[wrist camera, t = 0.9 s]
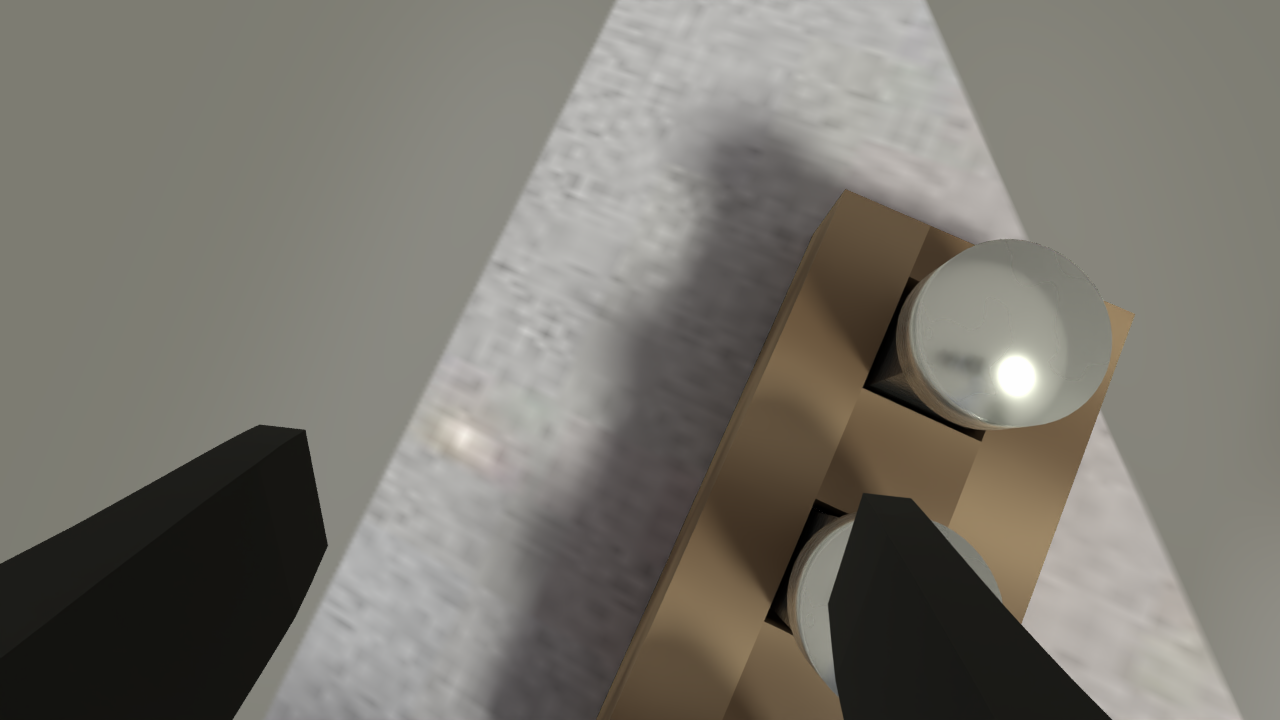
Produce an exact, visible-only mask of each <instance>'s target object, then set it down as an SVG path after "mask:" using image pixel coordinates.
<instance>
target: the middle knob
mask: <svg viewBox="0 0 1280 720" xmlns="http://www.w3.org/2000/svg"><path fill="white" fill-rule="evenodd" d="M856 513H857V512H854V513H851V514H848V515H844V516H842V517H836V516H831V515H827V514H823V513H819V512H815V511H810V513H809V515H808V518H807V520H806V523H805V525H804V527H803V530H802V532H801V534H800V537H799V539H798V542H797V544H796V546H795V549H794V551H793V553H792V556H791V558H790V561H789V563H788V565H787V568H786V570H785V572H784V575H783V577H782V579H781V582H780V584H779V587H778V589H777V591H776V594H775V596H774V598H773V601H772V603H771V606H770V607H771V608H772V609H773V610H774V612H775V613H776V614H777V615H778V616H779V617H780V618H781V619H782V620H783V621H784V622H785V623H786V624H787V626H788V627H789V628H790V629H791V630H792V633H793V636H794V638H795V641H796V643H797V645H798V647H799V649H800V651H801V653H802V654H803V656H804V657H805V659H806V660H807V662H808V663H809V664H810V665H811V667H812V668H813V669H814V670H815V672H816V673H817V674H818V675H819V676H820V677H821V679H822V680H823V681H824V682H825V683H826V684H827V686H828V687H829V688H830V689H831V690H832V691H833V692H834V693H835V694H836V695H837V696H838V691H837V686H836V681H835V672H834V663H833V654H832V645H831V634H830V623H829V612H828V602H829V598H830V595H831V592H832V589H833V586H834V583H835V580H836V576H837V573H838V570H839V567H840V564H841V561H842V558H843V554H844V551H845V548H846V545H847V542H848V539H849V535H850V532H851V529H852V526H853V523H854V520H855V517H856ZM931 521H932V520H931ZM932 522H933V523H934V525H935V526H936V527H937V528H938V529H939V530H940V532H941V533H942V534H943V535H944V536H945V537H946V539H947V540H948V541H949V542H950V543H951V544H952V546H953V547H954V548H955V549H956V550H957V552H958V553H959V554H960V555H961V556H962V557H963V559H964V560H965V561H966V562H967V563H968V564H969V566H970V567H971V568H972V569H973V570H974V571H975V572H976V574H977V575H978V576H979V577H980V578H981V579H982V581H983V582H984V583H985V584H986V585H987V586H988V588H989V589H990V590H991V591H992V592H993V593H994V594H995V596H996V597H997V598H998V599H999V600H1000V601H1001V602H1002V597H1001V594H1000V591H999V588H998V585H997V582H996V580H995V578H994V576H993V574H992V572H991V570H990V569H989V567H988V566H987V564H986V563H985V561H984V560H983V558H982V557H981V556H980V554H979V553H978V552H977V551H976V550H975V549H974V547H973V546H971V545H970V544H969V543H968V542H967V541H966V540H965V539H964V538H963V537H961V536H960V535H958V534H957V533H956V532H954V531H953V530H951V529H949V528H947V527H946V526H944V525H942V524H940V523H937V522H935V521H932ZM1002 603H1003V602H1002ZM838 697H839V696H838Z"/></svg>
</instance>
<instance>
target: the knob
mask: <svg viewBox="0 0 1280 720" xmlns="http://www.w3.org/2000/svg"><path fill="white" fill-rule="evenodd" d="M1111 350H1112V331H1111V323H1110V319H1109V315H1108V311H1107V309H1106V306H1105V304H1104V301H1103V299H1102V297H1101V295H1100V293H1099V292H1098V290H1097V288H1096V287H1095V285H1094V284H1093V283H1092V281H1091V280H1090V278H1089V277H1088V276H1087V275H1086V274H1085V273H1084V272H1083V271H1082V270H1081V269H1080V268H1079V267H1078V266H1077V265H1076V264H1074V263H1073V262H1072V261H1071V260H1069V259H1068V258H1066V257H1065V256H1063V255H1062V254H1060V253H1058V252H1056V251H1054V250H1052V249H1050V248H1048V247H1046V246H1042V245H1040V244H1037V243H1033V242H1029V241H1024V240H1014V239H1004V240H994V241H988V242H984V243H981V244H977V245H975V246H973V247H970V248H968V249H966V250H964V251H963V252H961V253H959V254H958V255H956V256H955V257H953V258H952V259H950V260H949V261H947V262H946V263H944V264H943V265H941V266H940V267H939V268H937V269H936V270H934V271H933V272H931V273H930V274H928V275H927V276H926V277H925V278H924V279H922V280H921V281H920V282H919V283H918V284H917V285H916V286H915V287H914V289H913V290H912V291H911V293H910V294H908V295H907V296H905V297H904V298H902V299H901V300H899V302H898V304H897V307H896V309H895V311H894V314H893V316H892V318H891V321H890V323H889V326H888V328H887V330H886V333H885V335H884V337H883V340H882V342H881V345H880V347H879V349H878V352H877V354H876V356H875V359H874V361H873V364H872V366H871V368H870V371H869V373H868V375H867V378H866V380H865V383H864V385H863V387H862V388H863V389H866V390H868V391H870V392H872V393H874V394H877V395H879V396H881V397H883V398H885V399H888V400H890V401H892V402H894V403H897V404H899V405H901V406H903V407H905V408H908V409H910V410H912V411H914V412H916V413H919V414H921V415H923V416H925V417H927V418H930V419H932V420H934V421H936V422H938V423H941V424H943V425H945V426H947V427H949V428H952V429H954V430H961V429H969V428H972V429H979V430H1002V429H1011V428H1019V427H1028V426H1036V425H1042V424H1047V423H1050V422H1054V421H1057V420H1059V419H1061V418H1064V417H1066V416H1068V415H1070V414H1071V413H1073V412H1074V411H1076V410H1077V409H1079V408H1080V407H1081V406H1082V405H1083V404H1085V403H1086V402H1087V401H1088V400H1089V399H1090V398H1091V396H1092V395H1093V394H1094V393H1095V392H1096V390H1097V389H1098V387H1099V385H1100V384H1101V382H1102V380H1103V378H1104V376H1105V374H1106V372H1107V369H1108V365H1109V362H1110V357H1111Z"/></svg>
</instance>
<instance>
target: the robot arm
mask: <svg viewBox="0 0 1280 720" xmlns="http://www.w3.org/2000/svg"><path fill="white" fill-rule="evenodd" d="M327 546H328V544H327V539H326V534H325V529H324V523H323V518H322V513H321V508H320V503H319V498H318V492H317V487H316V483H315V477H314V472H313V467H312V462H311V456H310V451H309V446H308V441H307V436H306V431H305V430H302V429H292V428H285V427H276V426H266V425H258V426H256V427H254V428H251V429H249V430H247V431H245V432H243V433H241V434H239V435H237V436H236V437H234V438H232V439H230V440H228V441H226V442H224V443H222V444H220V445H219V446H217V447H215V448H213V449H212V450H210V451H208V452H206V453H204V454H202V455H201V456H199V457H197V458H195V459H193V460H192V461H190V462H188V463H186V464H185V465H183V466H181V467H179V468H177V469H175V470H174V471H172V472H170V473H168V474H167V475H165V476H163V477H161V478H160V479H158V480H156V481H154V482H152V483H151V484H149V485H147V486H145V487H143V488H142V489H140V490H138V491H136V492H134V493H133V494H131V495H129V496H127V497H125V498H124V499H122V500H120V501H118V502H116V503H115V504H113V505H111V506H109V507H107V508H106V509H104V510H102V511H100V512H98V513H97V514H95V515H93V516H91V517H89V518H87V519H86V520H84V521H82V522H80V523H78V524H76V525H75V526H73V527H71V528H69V529H67V530H65V531H63V532H61V533H59V534H57V535H55V536H53V537H51V538H50V539H48V540H46V541H44V542H42V543H40V544H38V545H36V546H34V547H32V548H31V549H28V550H26V551H24V552H23V553H20V554H19V555H17V556H15V557H13V558H11V559H9V560H7V561H5V562H3V563H1V564H0V720H233V718H234V716H235V715H236V713H237V712H238V710H239V708H240V706H241V705H242V704H243V702H244V700H245V699H246V697H247V695H248V693H249V692H250V691H251V689H252V687H253V686H254V684H255V682H256V681H257V679H258V678H259V676H260V675H261V673H262V671H263V670H264V668H265V666H266V665H267V663H268V661H269V660H270V658H271V657H272V655H273V653H274V652H275V650H276V648H277V647H278V645H279V644H280V642H281V640H282V639H283V637H284V635H285V634H286V632H287V630H288V628H289V627H290V625H291V624H292V622H293V620H294V618H295V617H296V614H297V612H298V610H299V608H300V606H301V604H302V602H303V600H304V598H305V596H306V593H307V592H308V589H309V587H310V585H311V583H312V581H313V578H314V576H315V574H316V572H317V569H318V567H319V565H320V562H321V560H322V557H323V555H324V553H325V551H326V549H327ZM828 612H829V623H830V634H831V645H832V654H833V663H834V672H835V681H836V686H837V691H838V696H839V700H840V705H841V710H842V714H843V719H844V720H1112V719H1111V718H1110V717H1109V716H1108V715H1107V714H1106V713H1105V712H1104V711H1103V710H1102V709H1101V708H1100V707H1099V706H1098V705H1097V704H1096V703H1095V702H1094V701H1093V700H1092V699H1091V698H1090V697H1089V696H1088V695H1087V694H1086V693H1085V692H1084V691H1083V690H1082V689H1081V688H1080V687H1079V686H1078V685H1077V684H1076V683H1075V682H1074V681H1073V680H1072V679H1071V678H1070V676H1069V675H1068V674H1067V673H1066V672H1065V671H1064V670H1063V669H1062V668H1061V667H1060V666H1059V665H1058V664H1057V663H1056V662H1055V661H1054V659H1053V658H1052V657H1051V656H1050V655H1049V654H1048V653H1047V652H1046V651H1045V650H1044V649H1043V648H1042V647H1041V646H1040V644H1039V643H1038V642H1037V641H1036V640H1035V639H1034V638H1033V637H1032V636H1031V635H1030V634H1029V632H1028V631H1027V630H1026V629H1025V628H1024V627H1023V626H1022V625H1021V624H1020V623H1019V621H1018V620H1017V619H1016V618H1015V617H1014V616H1013V615H1012V614H1011V612H1010V611H1009V610H1008V609H1007V608H1006V607H1005V606H1004V605H1003V603H1002V602H1001V601H1000V600H999V599H998V598H997V597H996V596H995V594H994V593H993V592H992V591H991V590H990V589H989V588H988V586H987V585H986V584H985V583H984V582H983V581H982V579H981V578H980V577H979V576H978V575H977V574H976V572H975V571H974V570H973V569H972V568H971V567H970V566H969V564H968V563H967V562H966V561H965V560H964V559H963V557H962V556H961V555H960V554H959V553H958V552H957V550H956V549H955V548H954V547H953V546H952V544H951V543H950V542H949V541H948V540H947V539H946V537H945V536H944V535H943V534H942V533H941V532H940V530H939V529H938V528H937V527H936V526H935V525H934V523H933V522H932V521H931V520H930V519H929V518H928V516H927V515H926V514H925V513H924V512H923V511H922V510H921V508H920V507H919V506H918V505H917V504H916V503H915V502H914V501H913V500H912V498H905V497H896V496H887V495H878V494H869V493H863V495H862V498H861V501H860V504H859V507H858V510H857V513H856V517H855V520H854V523H853V526H852V529H851V532H850V535H849V539H848V542H847V545H846V548H845V551H844V554H843V558H842V561H841V564H840V567H839V570H838V573H837V576H836V580H835V583H834V586H833V589H832V592H831V595H830V598H829V602H828Z"/></svg>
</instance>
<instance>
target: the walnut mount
mask: <svg viewBox="0 0 1280 720" xmlns="http://www.w3.org/2000/svg"><path fill="white" fill-rule="evenodd" d="M973 246H975V245H974V244H971V243H969V242H967V241H964V240H962V239H960V238H957V237H955V236H953V235H951V234H948V233H946V232H944V231H941V230H939V229H937V228H934V227H932V226H930V225H927V224H925V223H923V222H920V221H918V220H916V219H914V218H911V217H909V216H907V215H904V214H902V213H900V212H897V211H895V210H893V209H890V208H888V207H886V206H883V205H881V204H879V203H877V202H874V201H872V200H870V199H867V198H865V197H863V196H860V195H858V194H856V193H853V192H851V191H849V190H846V189H845V191H844V192H843V193H842V195H841V196H840V198H839V199H838V200H837V202H836V203H835V205H834V206H833V207H832V209H831V210H830V212H829V213H828V214H827V216H826V217H825V219H824V220H823V221H822V223H821V224H820V225H819V227H818V228H817V230H816V231H815V232H814V234H813V236H812V238H811V241H810V243H809V245H808V247H807V249H806V252H805V254H804V256H803V258H802V261H801V263H800V265H799V267H798V270H797V272H796V274H795V276H794V279H793V281H792V283H791V285H790V287H789V290H788V292H787V294H786V296H785V299H784V301H783V303H782V305H781V308H780V310H779V312H778V314H777V317H776V319H775V321H774V323H773V325H772V328H771V330H770V332H769V334H768V337H767V339H766V341H765V343H764V346H763V348H762V350H761V352H760V355H759V357H758V359H757V361H756V363H755V366H754V368H753V370H752V372H751V375H750V377H749V379H748V381H747V384H746V386H745V388H744V390H743V393H742V395H741V397H740V399H739V401H738V404H737V406H736V408H735V410H734V413H733V415H732V417H731V419H730V422H729V424H728V426H727V428H726V431H725V433H724V435H723V437H722V439H721V442H720V444H719V446H718V448H717V451H716V453H715V455H714V457H713V460H712V462H711V464H710V466H709V469H708V471H707V473H706V475H705V478H704V480H703V482H702V484H701V486H700V489H699V491H698V493H697V495H696V498H695V500H694V502H693V504H692V507H691V509H690V511H689V513H688V516H687V518H686V520H685V522H684V524H683V527H682V529H681V531H680V533H679V536H678V538H677V540H676V542H675V545H674V547H673V549H672V551H671V554H670V556H669V558H668V560H667V562H666V565H665V567H664V569H663V571H662V574H661V576H660V578H659V580H658V583H657V585H656V587H655V589H654V592H653V594H652V596H651V598H650V600H649V603H648V605H647V607H646V609H645V612H644V614H643V616H642V618H641V621H640V623H639V625H638V627H637V630H636V632H635V634H634V636H633V638H632V641H631V643H630V645H629V647H628V650H627V652H626V654H625V656H624V659H623V661H622V663H621V665H620V668H619V670H618V672H617V674H616V676H615V679H614V681H613V683H612V685H611V688H610V690H609V692H608V694H607V697H606V699H605V701H604V703H603V706H602V708H601V710H600V712H599V715H598V717H597V719H596V720H844V719H843V714H842V710H841V705H840V700H839V697H838V696H837V695H836V694H835V693H834V692H833V691H832V690H831V689H830V688H829V687H828V686H827V684H826V683H825V682H824V681H823V680H822V679H821V677H820V676H819V675H818V674H817V673H816V672H815V670H814V669H813V668H812V667H811V665H810V664H809V663H808V662H807V660H806V659H805V657H804V656H803V654H802V653H801V651H800V649H799V647H798V645H797V643H796V641H795V638H794V636H793V633H792V630H791V629H790V628H789V627H788V626H787V624H786V623H785V622H784V621H783V620H782V619H781V618H780V617H779V616H778V615H777V614H776V613H775V612H774V610H772V609H770V606H771V603H772V601H773V598H774V596H775V594H776V591H777V589H778V587H779V584H780V582H781V579H782V577H783V575H784V572H785V570H786V568H787V565H788V563H789V561H790V558H791V556H792V553H793V551H794V549H795V546H796V544H797V542H798V539H799V537H800V534H801V532H802V530H803V527H804V525H805V523H806V520H807V518H808V515H809V513H810V511H811V508H812V506H814V507H816V508H818V509H820V510H822V511H824V512H827V513H829V514H831V515H833V516H836V517H842V516H844V515H848V514H851V513H854V512H857V510H858V507H859V504H860V501H861V498H862V495H863V493H869V494H878V495H887V496H896V497H905V498H912V500H913V501H914V502H915V503H916V504H917V505H918V506H919V507H920V508H921V510H922V511H923V512H924V513H925V514H926V515H927V516H928V518H929V519H930V520H932V521H935V522H937V523H940V524H942V525H944V526H946V527H947V528H949V529H951V530H953V531H954V532H956V533H957V534H958V535H960V536H961V537H963V538H964V539H965V540H966V541H967V542H968V543H969V544H970V545H971V546H973V547H974V549H975V550H976V551H977V552H978V553H979V554H980V556H981V557H982V558H983V560H984V561H985V563H986V564H987V566H988V567H989V569H990V570H991V572H992V574H993V576H994V578H995V580H996V582H997V585H998V588H999V591H1000V594H1001V597H1002V602H1003V605H1004V606H1005V607H1006V608H1007V609H1008V610H1009V611H1010V612H1011V614H1012V615H1013V616H1014V617H1015V618H1016V619H1017V620H1018V621H1019V623H1020V624H1021V623H1022V620H1023V618H1024V615H1025V612H1026V610H1027V607H1028V604H1029V601H1030V599H1031V596H1032V593H1033V591H1034V588H1035V585H1036V582H1037V580H1038V577H1039V574H1040V571H1041V569H1042V566H1043V563H1044V561H1045V558H1046V555H1047V552H1048V550H1049V547H1050V544H1051V542H1052V539H1053V536H1054V533H1055V531H1056V528H1057V525H1058V522H1059V520H1060V517H1061V514H1062V512H1063V509H1064V506H1065V503H1066V501H1067V498H1068V495H1069V493H1070V490H1071V487H1072V484H1073V482H1074V479H1075V476H1076V473H1077V471H1078V468H1079V465H1080V463H1081V460H1082V457H1083V454H1084V452H1085V449H1086V446H1087V444H1088V441H1089V438H1090V435H1091V433H1092V430H1093V427H1094V424H1095V422H1096V419H1097V416H1098V414H1099V411H1100V408H1101V405H1102V403H1103V400H1104V397H1105V394H1106V392H1107V389H1108V386H1109V383H1110V381H1111V378H1112V375H1113V372H1114V370H1115V367H1116V364H1117V362H1118V359H1119V356H1120V354H1121V351H1122V348H1123V346H1124V343H1125V340H1126V337H1127V335H1128V332H1129V329H1130V326H1131V324H1132V321H1133V318H1134V315H1135V314H1133V313H1131V312H1129V311H1126V310H1124V309H1122V308H1119V307H1117V306H1115V305H1113V304H1110V303H1108V302H1105V301H1104V304H1105V306H1106V309H1107V311H1108V315H1109V319H1110V323H1111V331H1112V350H1111V357H1110V362H1109V365H1108V369H1107V372H1106V374H1105V376H1104V378H1103V380H1102V382H1101V384H1100V385H1099V387H1098V389H1097V390H1096V392H1095V393H1094V394H1093V395H1092V396H1091V398H1090V399H1089V400H1088V401H1087V402H1086V403H1085V404H1083V405H1082V406H1081V407H1080V408H1079V409H1077V410H1076V411H1074V412H1073V413H1071V414H1070V415H1068V416H1066V417H1064V418H1061V419H1059V420H1057V421H1054V422H1050V423H1047V424H1042V425H1036V426H1028V427H1019V428H1011V429H1002V430H979V429H972V428H969V429H961V430H954V429H952V428H949V427H947V426H945V425H943V424H941V423H938V422H936V421H934V420H932V419H930V418H927V417H925V416H923V415H921V414H919V413H916V412H914V411H912V410H910V409H908V408H905V407H903V406H901V405H899V404H897V403H894V402H892V401H890V400H888V399H885V398H883V397H881V396H879V395H877V394H874V393H872V392H870V391H868V390H866V389H863V388H862V387H863V385H864V383H865V380H866V378H867V375H868V373H869V371H870V368H871V366H872V364H873V361H874V359H875V356H876V354H877V352H878V349H879V347H880V345H881V342H882V340H883V337H884V335H885V333H886V330H887V328H888V326H889V323H890V321H891V318H892V316H893V314H894V311H895V309H896V307H897V304H898V302H899V300H901V299H902V298H904V297H905V296H907V295H908V294H910V293H911V291H912V290H913V289H914V287H915V286H916V285H917V284H918V283H919V282H920V281H921V280H922V279H924V278H925V277H926V276H927V275H928V274H930V273H931V272H933V271H934V270H936V269H937V268H939V267H940V266H941V265H943V264H944V263H946V262H947V261H949V260H950V259H952V258H953V257H955V256H956V255H958V254H959V253H961V252H963V251H964V250H966V249H968V248H970V247H973Z"/></svg>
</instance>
